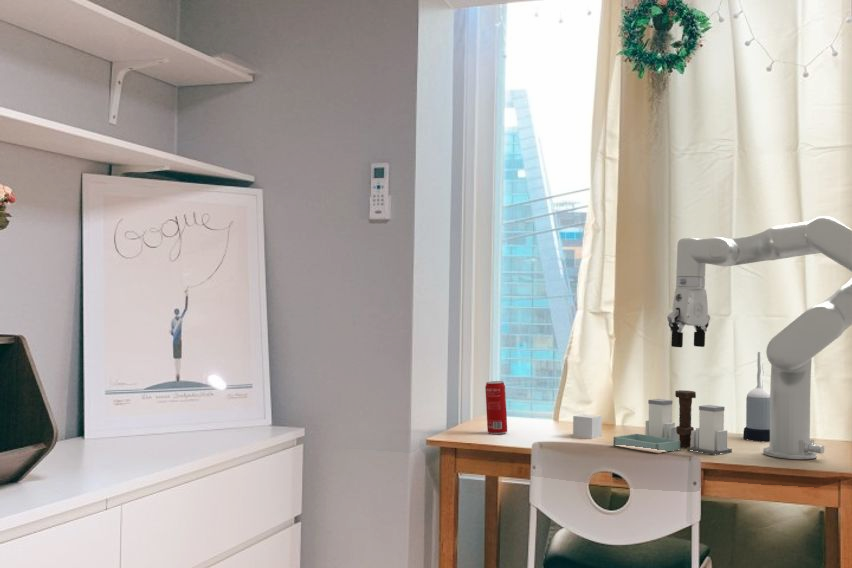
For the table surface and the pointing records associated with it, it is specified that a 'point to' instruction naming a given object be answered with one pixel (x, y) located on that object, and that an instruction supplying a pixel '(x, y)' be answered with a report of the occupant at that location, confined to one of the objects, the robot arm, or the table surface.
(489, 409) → the beverage can
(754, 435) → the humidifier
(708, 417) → the block
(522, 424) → the table surface
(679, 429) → the bolt
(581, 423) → the light grey cube
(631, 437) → the tray
